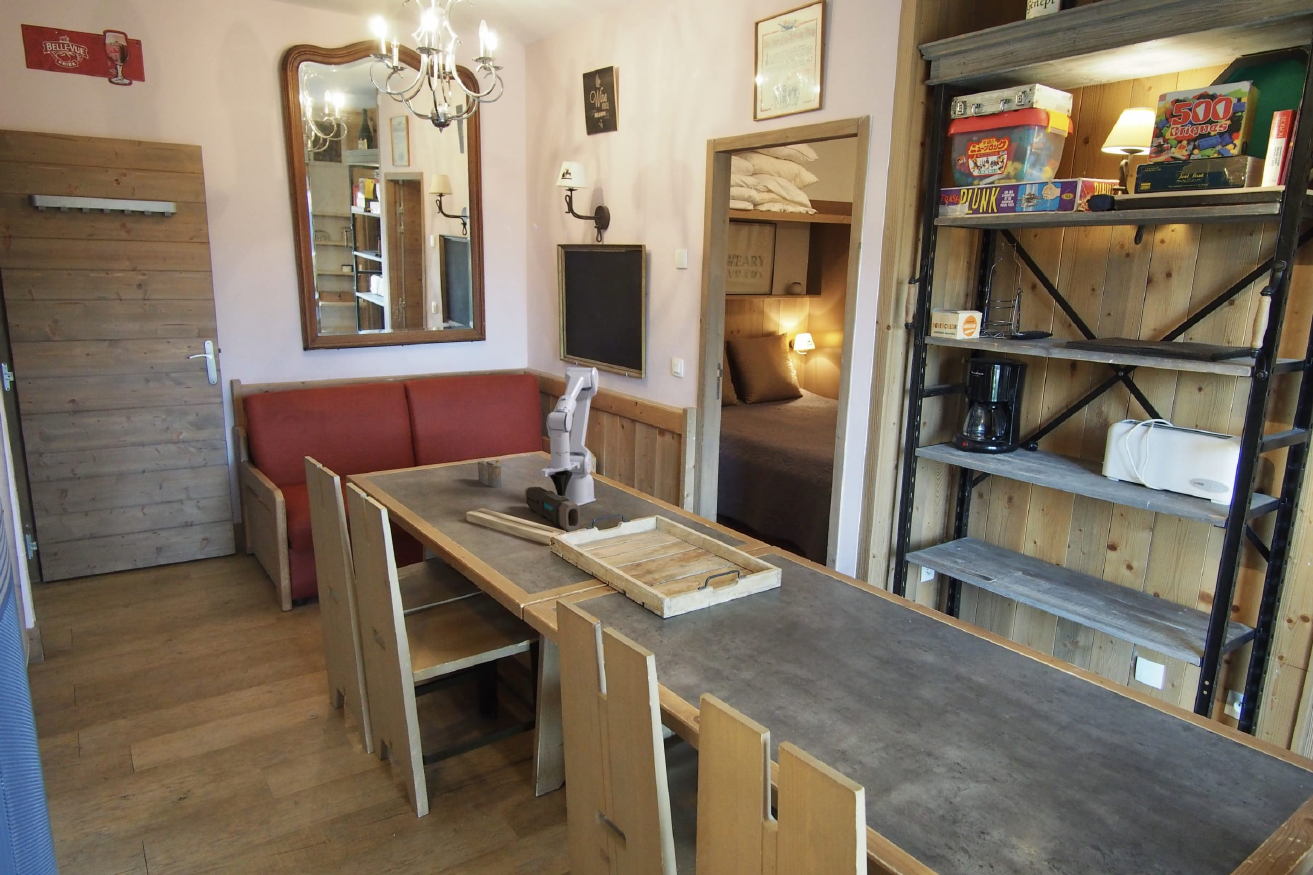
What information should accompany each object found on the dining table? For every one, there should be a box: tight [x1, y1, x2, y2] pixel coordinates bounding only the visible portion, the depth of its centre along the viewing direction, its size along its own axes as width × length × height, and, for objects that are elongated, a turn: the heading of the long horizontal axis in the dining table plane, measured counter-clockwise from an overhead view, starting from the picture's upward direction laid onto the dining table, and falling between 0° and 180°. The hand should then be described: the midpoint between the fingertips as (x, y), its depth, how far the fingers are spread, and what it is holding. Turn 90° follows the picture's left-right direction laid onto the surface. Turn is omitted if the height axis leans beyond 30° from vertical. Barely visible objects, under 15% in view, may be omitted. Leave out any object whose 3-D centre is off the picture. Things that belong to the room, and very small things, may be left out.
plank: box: [465, 507, 567, 546], centre depth 233 cm, size 6×36×3 cm, turn 51°
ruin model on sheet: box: [477, 459, 502, 489], centre depth 283 cm, size 11×3×10 cm, turn 40°
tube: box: [524, 486, 582, 533], centre depth 243 cm, size 11×7×30 cm
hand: (561, 495), depth 247 cm, fingers closed
